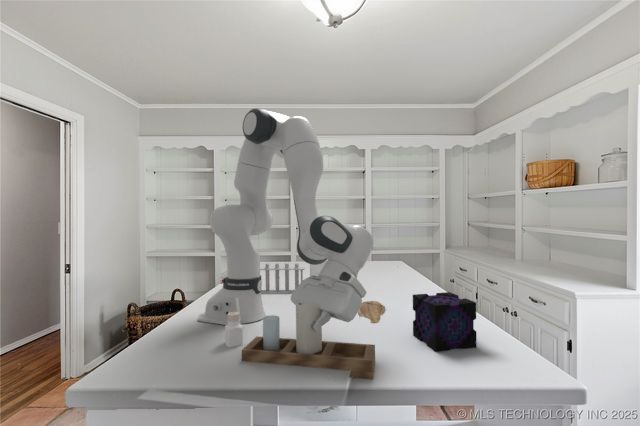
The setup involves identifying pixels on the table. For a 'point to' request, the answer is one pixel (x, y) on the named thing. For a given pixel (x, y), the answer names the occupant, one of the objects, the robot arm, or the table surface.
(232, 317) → the pepper shaker
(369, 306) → the fish fossil
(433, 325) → the energy cube
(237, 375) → the table surface
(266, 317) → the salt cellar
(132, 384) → the table surface
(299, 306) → the clay block
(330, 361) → the rack
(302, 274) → the test tube rack
